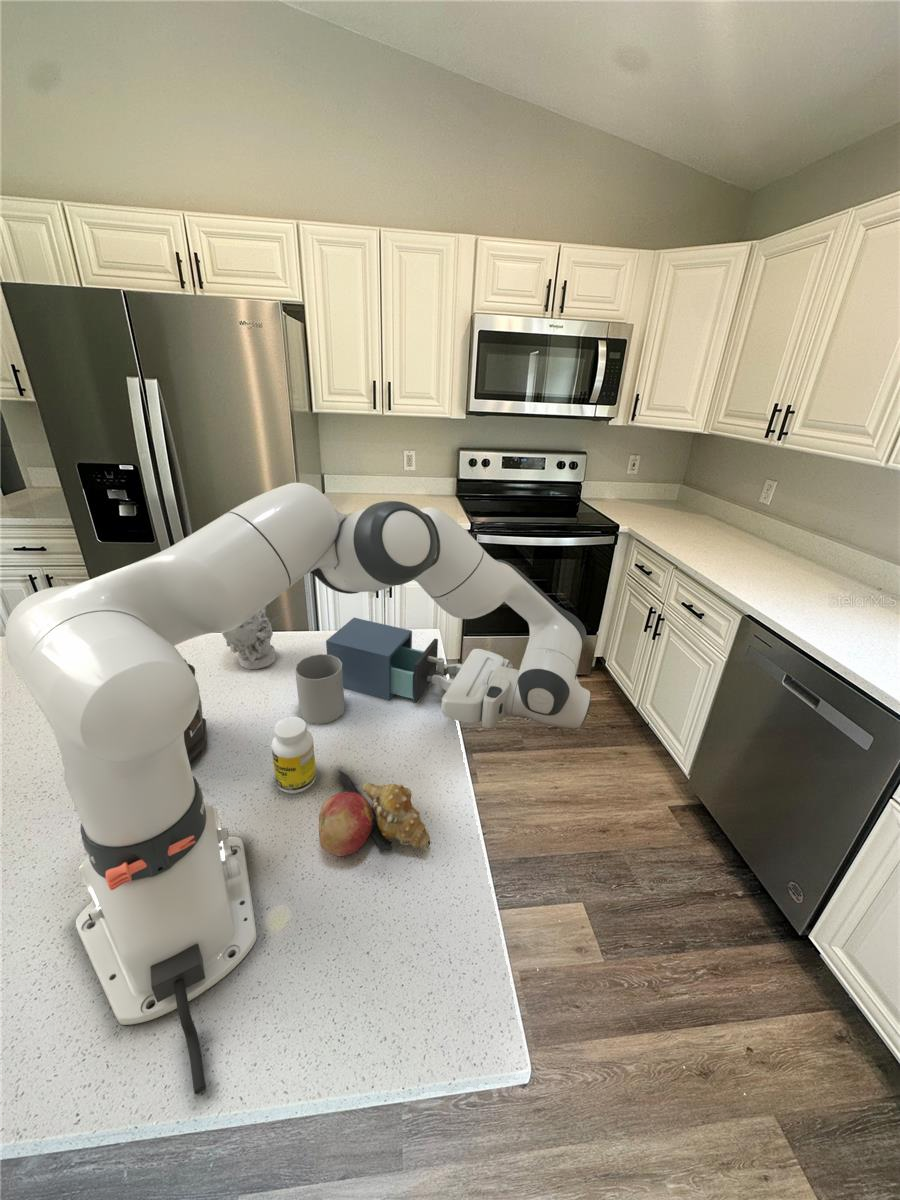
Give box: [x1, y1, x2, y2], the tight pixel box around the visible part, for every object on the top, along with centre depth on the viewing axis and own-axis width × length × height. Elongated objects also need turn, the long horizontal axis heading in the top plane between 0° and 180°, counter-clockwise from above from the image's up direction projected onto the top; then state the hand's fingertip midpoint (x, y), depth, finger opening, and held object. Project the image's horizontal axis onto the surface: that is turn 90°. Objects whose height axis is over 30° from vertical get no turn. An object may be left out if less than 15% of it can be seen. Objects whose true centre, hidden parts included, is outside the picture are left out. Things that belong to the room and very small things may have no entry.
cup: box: [294, 653, 345, 725], centre depth 92 cm, size 8×8×10 cm
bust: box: [221, 592, 308, 670], centre depth 106 cm, size 11×10×15 cm
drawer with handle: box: [391, 638, 445, 704], centre depth 100 cm, size 17×11×9 cm, turn 70°
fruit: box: [318, 791, 375, 857], centre depth 68 cm, size 8×8×8 cm
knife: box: [338, 769, 393, 852], centre depth 74 cm, size 18×1×3 cm
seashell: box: [362, 781, 431, 851], centre depth 70 cm, size 9×8×10 cm
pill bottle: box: [270, 716, 317, 794], centre depth 76 cm, size 6×6×11 cm
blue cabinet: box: [325, 617, 413, 701], centre depth 103 cm, size 14×11×10 cm
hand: (436, 672), depth 98 cm, fingers closed
